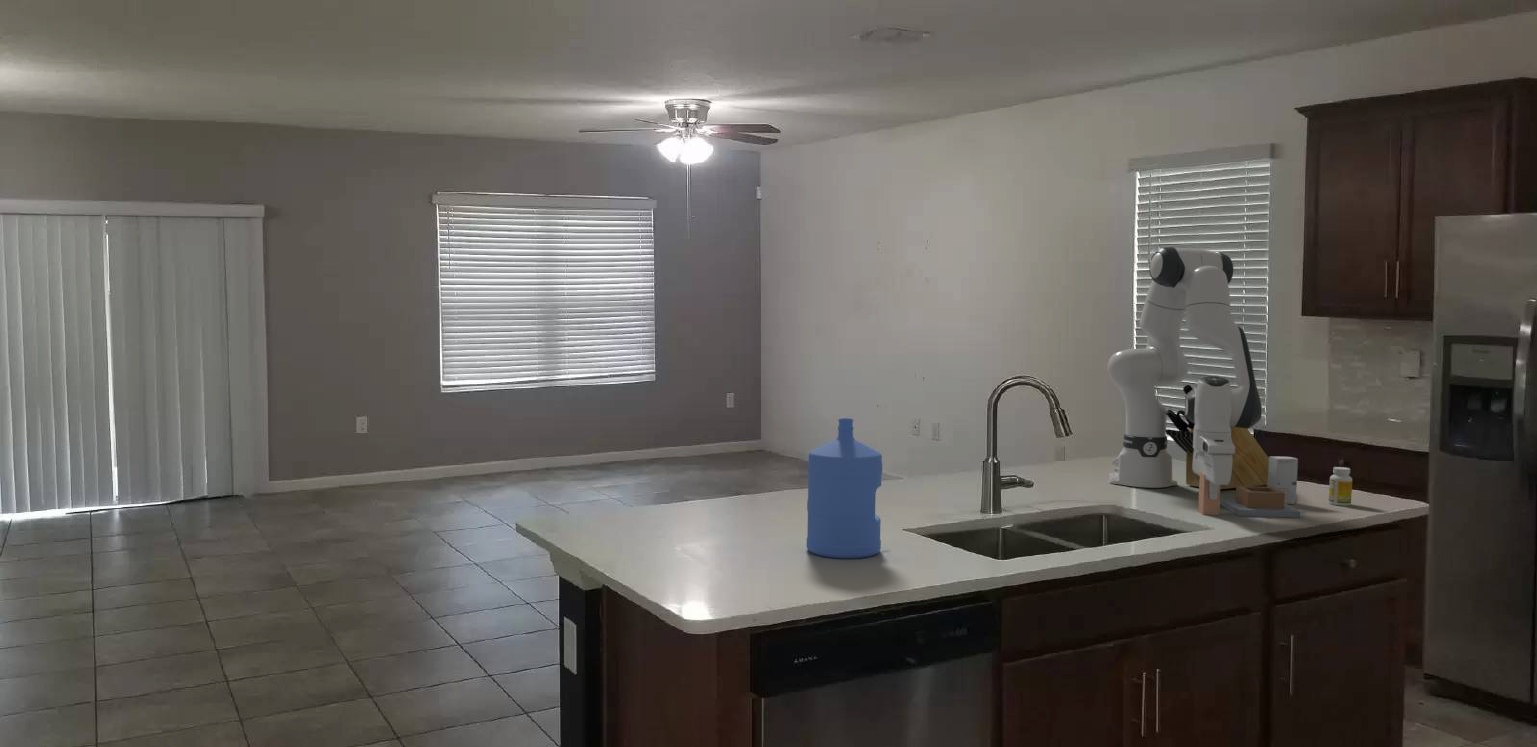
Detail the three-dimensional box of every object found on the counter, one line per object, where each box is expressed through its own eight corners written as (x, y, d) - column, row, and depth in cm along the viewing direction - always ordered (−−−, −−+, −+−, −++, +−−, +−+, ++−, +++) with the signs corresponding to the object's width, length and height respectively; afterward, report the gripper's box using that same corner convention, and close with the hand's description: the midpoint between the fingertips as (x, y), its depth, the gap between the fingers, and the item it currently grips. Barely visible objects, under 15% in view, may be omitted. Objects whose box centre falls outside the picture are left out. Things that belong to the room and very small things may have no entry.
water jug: (838, 563, 239) (840, 425, 237) (791, 548, 251) (793, 417, 249) (896, 553, 248) (898, 420, 246) (848, 539, 260) (850, 413, 258)
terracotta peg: (1198, 511, 299) (1199, 472, 298) (1214, 511, 299) (1216, 472, 298) (1202, 514, 295) (1204, 474, 294) (1219, 515, 295) (1221, 475, 294)
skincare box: (1275, 504, 310) (1277, 458, 309) (1265, 501, 315) (1267, 456, 314) (1297, 504, 311) (1299, 458, 310) (1287, 500, 316) (1289, 455, 315)
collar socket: (1219, 504, 309) (1220, 483, 308) (1279, 506, 308) (1279, 485, 307) (1238, 515, 294) (1239, 493, 293) (1300, 517, 293) (1301, 495, 292)
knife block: (1158, 487, 334) (1163, 378, 332) (1250, 480, 349) (1254, 375, 347) (1188, 494, 324) (1193, 381, 322) (1281, 486, 339) (1286, 378, 337)
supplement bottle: (1324, 503, 312) (1326, 467, 312) (1334, 501, 316) (1336, 465, 315) (1345, 506, 308) (1347, 470, 307) (1354, 504, 312) (1356, 468, 311)
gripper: (1187, 436, 306) (1185, 489, 307) (1210, 447, 286) (1208, 504, 287) (1212, 437, 306) (1209, 490, 307) (1237, 448, 285) (1235, 504, 286)
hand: (1209, 496), depth 296 cm, fingers closed on terracotta peg, 4 cm apart
